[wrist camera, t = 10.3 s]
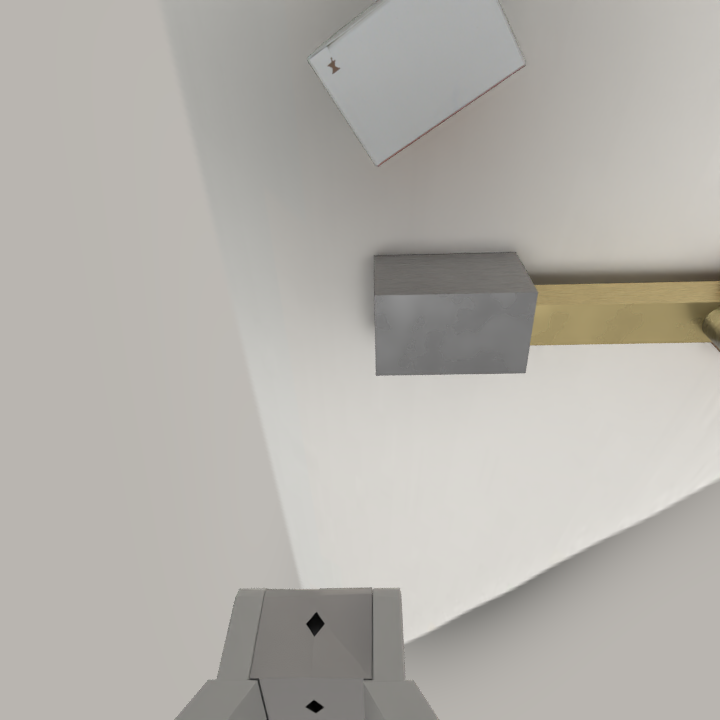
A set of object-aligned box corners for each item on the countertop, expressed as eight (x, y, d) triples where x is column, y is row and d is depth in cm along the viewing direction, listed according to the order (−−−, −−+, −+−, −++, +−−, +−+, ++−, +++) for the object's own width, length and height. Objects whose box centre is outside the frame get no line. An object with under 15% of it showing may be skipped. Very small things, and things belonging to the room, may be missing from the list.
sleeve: (373, 255, 40) (374, 295, 34) (515, 252, 39) (538, 292, 34) (375, 328, 43) (375, 375, 38) (506, 326, 43) (525, 373, 37)
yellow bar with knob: (520, 285, 38) (551, 346, 32) (818, 279, 38) (915, 340, 31) (514, 323, 40) (543, 389, 33) (801, 318, 39) (888, 384, 33)
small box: (372, 128, 35) (373, 172, 26) (320, 43, 33) (301, 60, 24) (488, 47, 33) (531, 67, 24) (441, -52, 30) (470, -71, 21)
